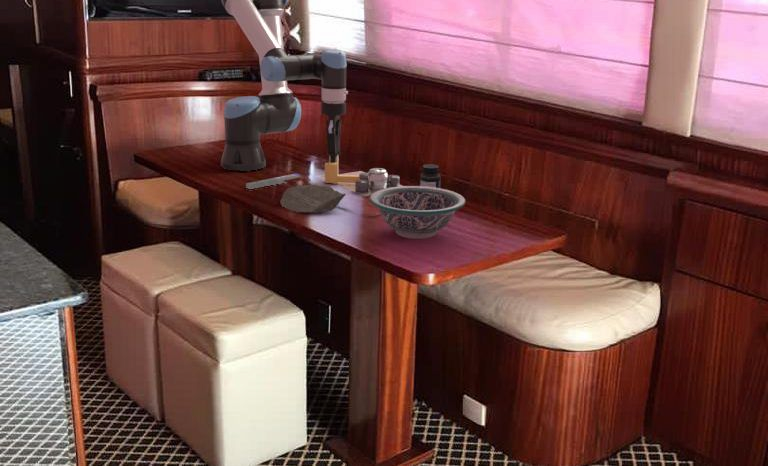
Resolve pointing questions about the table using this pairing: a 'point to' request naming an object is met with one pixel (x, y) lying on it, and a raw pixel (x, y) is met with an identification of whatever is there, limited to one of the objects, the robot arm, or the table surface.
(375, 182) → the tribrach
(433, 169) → the pill bottle
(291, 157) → the table surface
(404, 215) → the bowl
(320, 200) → the stone
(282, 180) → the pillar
